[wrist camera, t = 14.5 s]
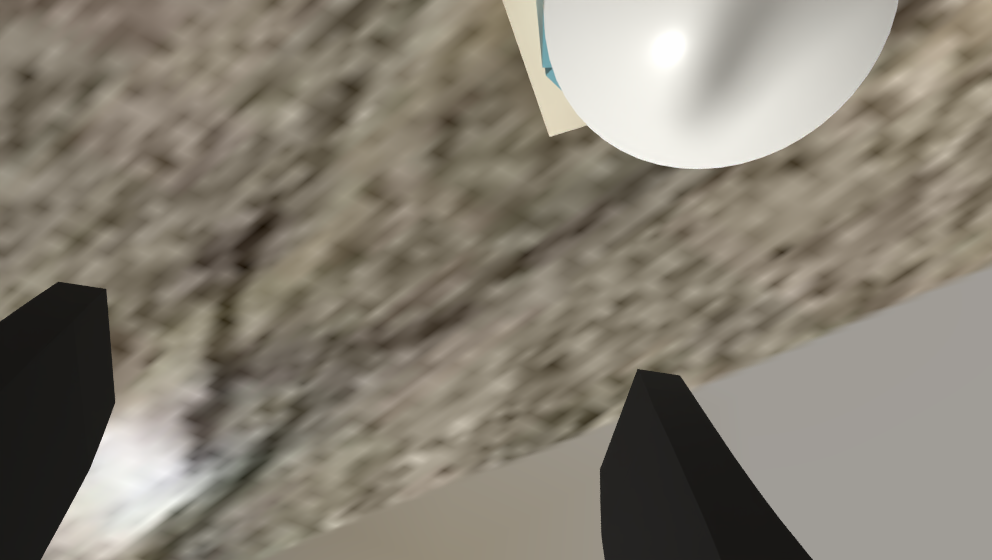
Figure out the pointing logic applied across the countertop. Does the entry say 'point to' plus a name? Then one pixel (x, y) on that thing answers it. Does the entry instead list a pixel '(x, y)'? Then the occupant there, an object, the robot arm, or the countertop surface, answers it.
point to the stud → (540, 69)
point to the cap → (709, 71)
